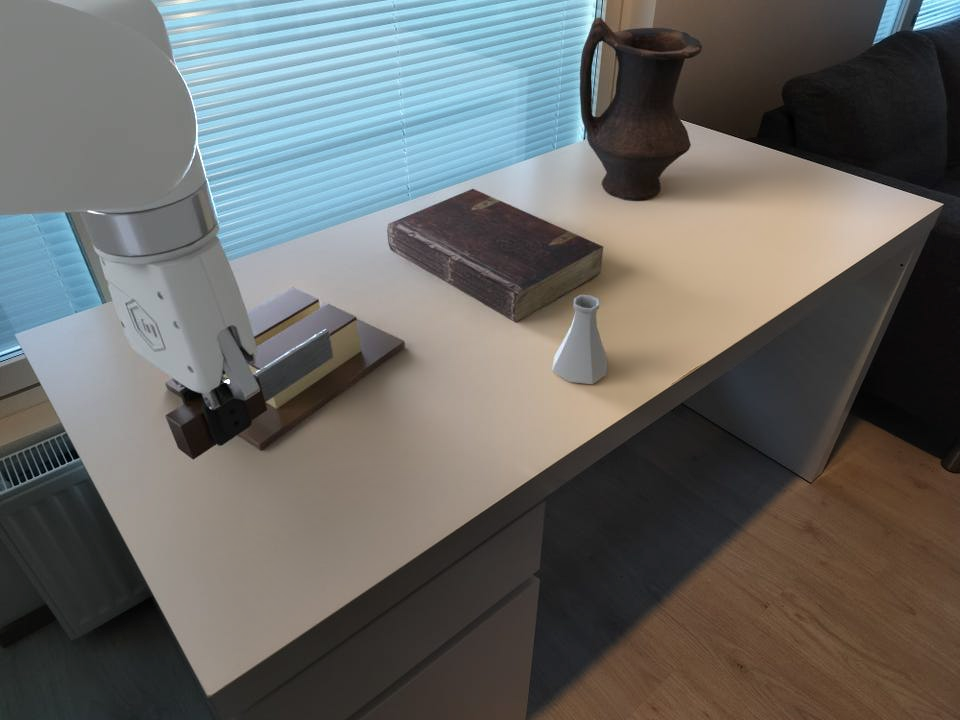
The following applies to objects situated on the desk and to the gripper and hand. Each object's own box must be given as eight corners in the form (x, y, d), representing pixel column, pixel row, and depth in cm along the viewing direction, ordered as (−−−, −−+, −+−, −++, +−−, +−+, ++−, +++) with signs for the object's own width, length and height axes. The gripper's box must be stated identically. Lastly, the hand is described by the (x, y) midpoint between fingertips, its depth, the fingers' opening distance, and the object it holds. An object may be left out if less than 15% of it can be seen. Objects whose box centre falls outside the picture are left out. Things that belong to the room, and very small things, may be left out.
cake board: (260, 450, 76) (258, 444, 75) (166, 388, 85) (164, 382, 84) (405, 346, 91) (404, 340, 90) (312, 303, 100) (311, 297, 99)
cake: (276, 409, 80) (267, 373, 77) (213, 371, 86) (202, 336, 82) (361, 351, 89) (356, 316, 85) (299, 320, 94) (292, 286, 91)
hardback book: (389, 250, 112) (386, 222, 109) (473, 214, 122) (472, 188, 119) (514, 323, 95) (515, 292, 92) (600, 275, 105) (603, 246, 102)
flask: (542, 375, 86) (546, 309, 80) (564, 344, 91) (569, 280, 85) (596, 392, 84) (605, 325, 77) (616, 360, 89) (625, 294, 82)
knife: (193, 460, 52) (180, 426, 49) (178, 448, 53) (164, 415, 50) (340, 361, 61) (334, 329, 59) (324, 353, 62) (318, 321, 60)
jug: (665, 167, 139) (692, 3, 120) (694, 207, 124) (730, 27, 106) (562, 171, 137) (573, 6, 119) (579, 211, 123) (595, 31, 104)
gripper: (30, 201, 44) (125, 411, 56) (170, 280, 36) (246, 504, 48) (137, 164, 49) (204, 365, 60) (281, 227, 41) (327, 443, 53)
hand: (222, 425), depth 54 cm, fingers closed on knife, 2 cm apart
